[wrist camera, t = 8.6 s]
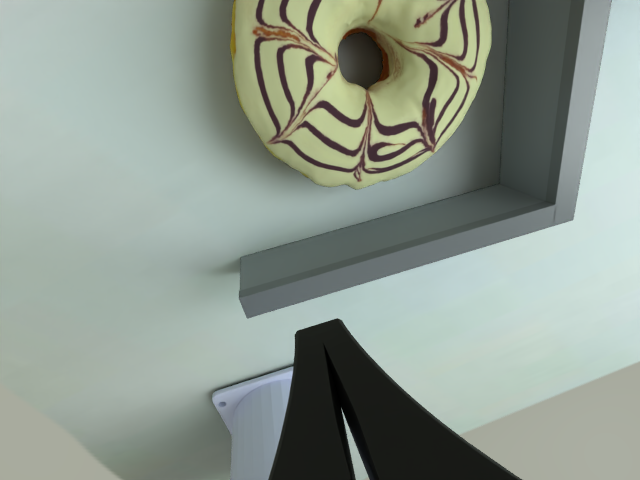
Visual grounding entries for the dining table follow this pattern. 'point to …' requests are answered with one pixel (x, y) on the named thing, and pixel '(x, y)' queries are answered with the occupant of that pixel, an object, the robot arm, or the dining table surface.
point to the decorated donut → (351, 99)
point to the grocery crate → (481, 205)
